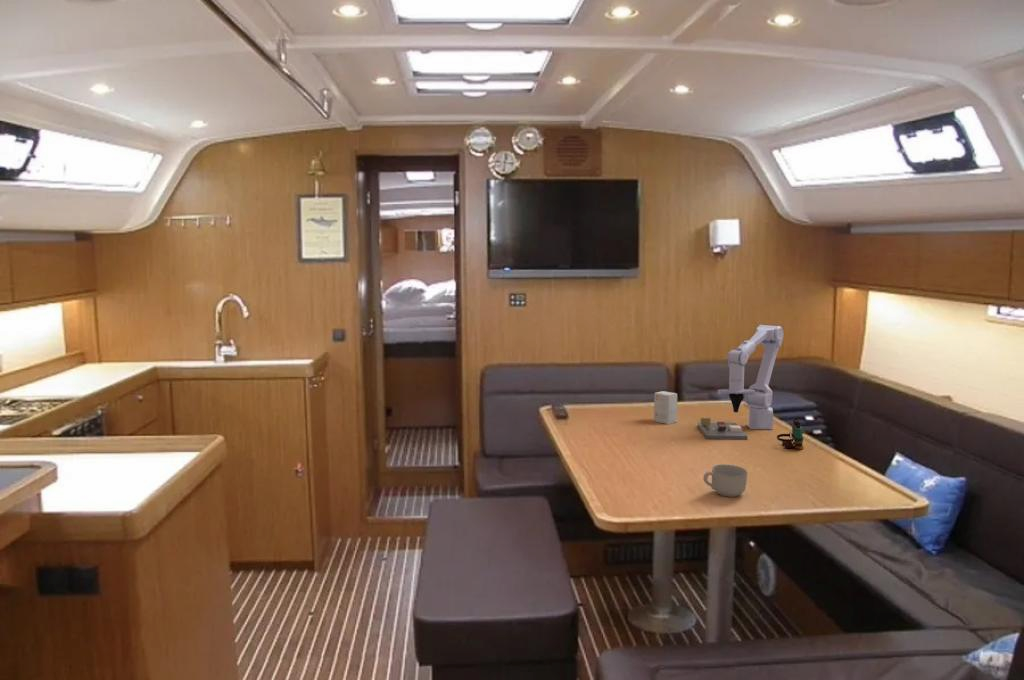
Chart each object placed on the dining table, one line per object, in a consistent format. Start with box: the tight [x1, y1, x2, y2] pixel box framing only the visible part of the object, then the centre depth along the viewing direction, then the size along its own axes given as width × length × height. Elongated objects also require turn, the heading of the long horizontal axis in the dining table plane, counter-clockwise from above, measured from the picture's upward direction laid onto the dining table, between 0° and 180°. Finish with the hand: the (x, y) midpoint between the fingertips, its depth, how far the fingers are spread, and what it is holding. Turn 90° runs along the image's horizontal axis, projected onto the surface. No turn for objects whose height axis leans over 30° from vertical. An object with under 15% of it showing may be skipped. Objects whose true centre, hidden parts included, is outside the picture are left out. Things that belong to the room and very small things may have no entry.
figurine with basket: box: [776, 418, 805, 450], centre depth 287 cm, size 9×11×10 cm
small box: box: [653, 390, 678, 425], centre depth 329 cm, size 8×6×13 cm
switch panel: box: [697, 422, 748, 441], centre depth 310 cm, size 16×22×2 cm
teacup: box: [703, 463, 749, 498], centre depth 233 cm, size 14×11×8 cm
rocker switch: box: [716, 421, 726, 429], centre depth 308 cm, size 3×5×1 cm, turn 175°
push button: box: [729, 424, 743, 432], centre depth 308 cm, size 4×4×2 cm
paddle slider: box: [699, 416, 711, 425], centre depth 315 cm, size 4×2×3 cm, turn 85°
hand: (735, 411), depth 307 cm, fingers closed
